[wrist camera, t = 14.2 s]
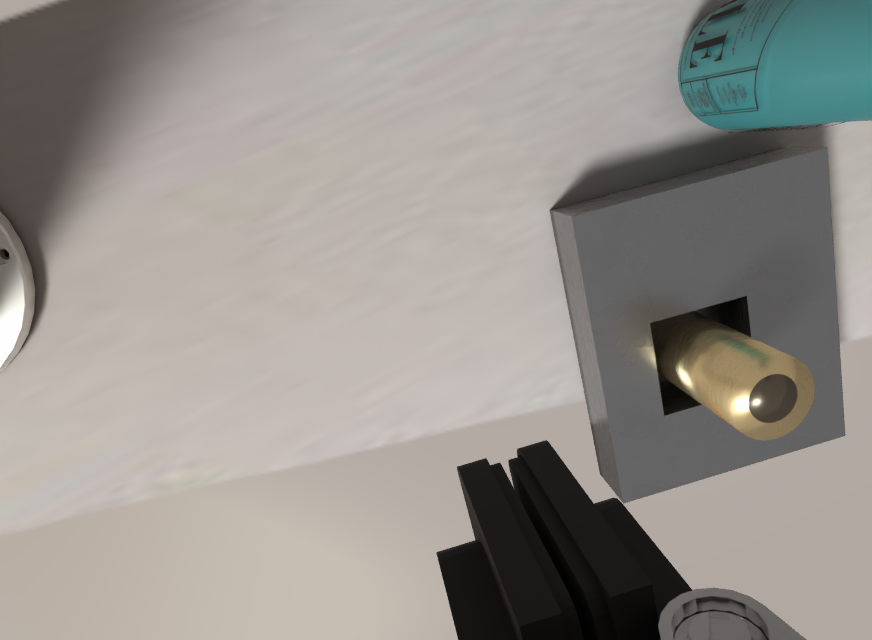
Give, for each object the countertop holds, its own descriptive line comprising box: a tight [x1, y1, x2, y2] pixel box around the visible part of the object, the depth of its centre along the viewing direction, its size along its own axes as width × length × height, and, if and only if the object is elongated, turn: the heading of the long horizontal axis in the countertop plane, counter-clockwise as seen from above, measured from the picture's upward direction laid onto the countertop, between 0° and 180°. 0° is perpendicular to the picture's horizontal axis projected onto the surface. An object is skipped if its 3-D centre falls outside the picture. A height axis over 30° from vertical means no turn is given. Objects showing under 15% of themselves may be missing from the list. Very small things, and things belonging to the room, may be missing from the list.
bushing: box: [650, 311, 815, 440], centre depth 34 cm, size 4×4×9 cm
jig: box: [550, 148, 845, 503], centre depth 37 cm, size 14×17×4 cm
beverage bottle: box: [678, 0, 872, 133], centre depth 25 cm, size 6×7×20 cm
